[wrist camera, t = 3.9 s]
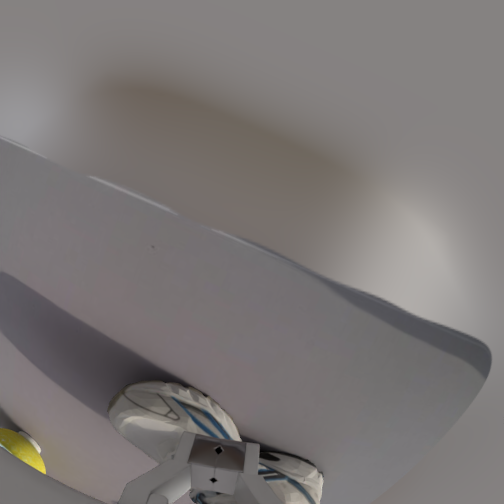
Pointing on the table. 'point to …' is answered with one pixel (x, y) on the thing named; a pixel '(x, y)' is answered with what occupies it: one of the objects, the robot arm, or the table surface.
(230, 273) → the table surface
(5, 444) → the bowl
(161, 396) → the athletic shoe
